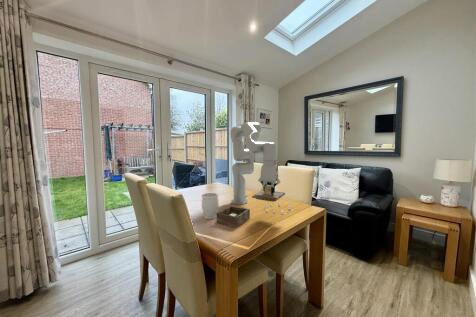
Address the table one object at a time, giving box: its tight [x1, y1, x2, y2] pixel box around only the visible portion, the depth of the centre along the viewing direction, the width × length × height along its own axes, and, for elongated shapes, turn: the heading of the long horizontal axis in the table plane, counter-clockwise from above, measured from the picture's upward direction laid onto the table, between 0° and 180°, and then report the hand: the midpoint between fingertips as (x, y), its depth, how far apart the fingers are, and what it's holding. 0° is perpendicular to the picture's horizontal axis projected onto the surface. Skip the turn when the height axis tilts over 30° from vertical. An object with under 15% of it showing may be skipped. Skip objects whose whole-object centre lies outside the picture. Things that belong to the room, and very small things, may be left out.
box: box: [215, 205, 251, 229], centre depth 130 cm, size 16×14×7 cm
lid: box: [251, 184, 286, 203], centre depth 129 cm, size 17×15×7 cm
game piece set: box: [263, 201, 292, 215], centre depth 152 cm, size 19×20×4 cm
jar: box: [201, 192, 219, 220], centre depth 137 cm, size 11×10×15 cm
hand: (269, 192), depth 129 cm, fingers closed on lid, 4 cm apart
